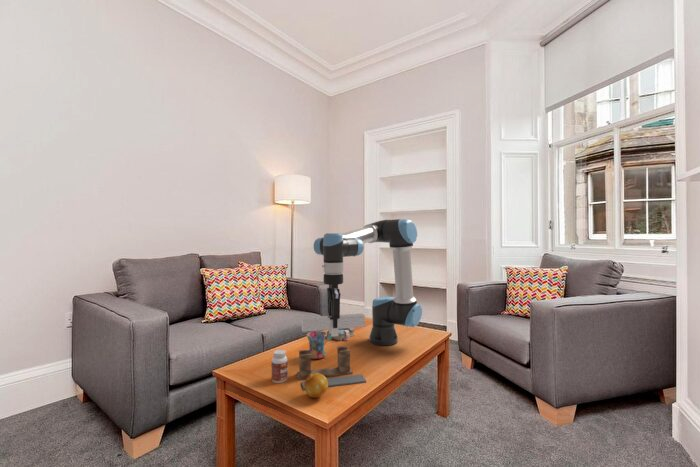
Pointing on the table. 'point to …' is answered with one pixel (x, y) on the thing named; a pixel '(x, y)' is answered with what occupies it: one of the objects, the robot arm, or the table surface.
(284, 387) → the table surface
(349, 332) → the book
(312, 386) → the fruit
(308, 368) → the stand
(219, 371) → the table surface
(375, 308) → the robot arm
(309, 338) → the mug
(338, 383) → the felt mat
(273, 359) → the pill bottle
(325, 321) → the rail
